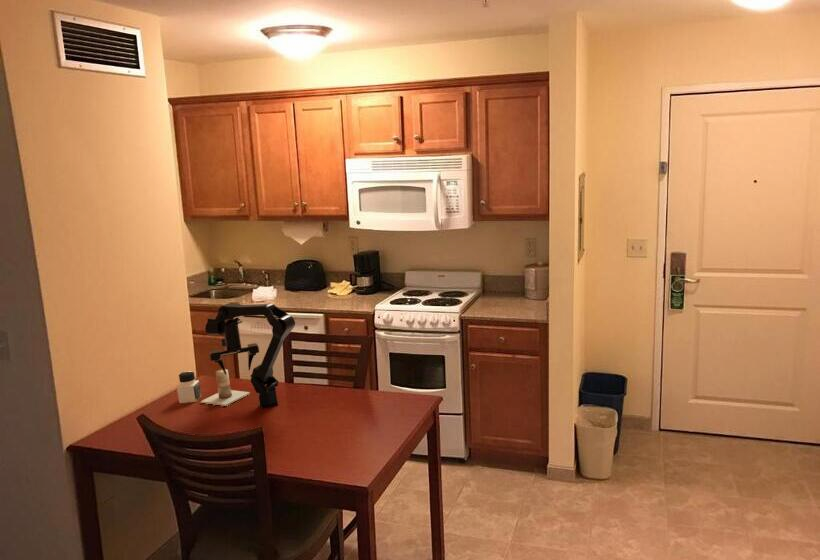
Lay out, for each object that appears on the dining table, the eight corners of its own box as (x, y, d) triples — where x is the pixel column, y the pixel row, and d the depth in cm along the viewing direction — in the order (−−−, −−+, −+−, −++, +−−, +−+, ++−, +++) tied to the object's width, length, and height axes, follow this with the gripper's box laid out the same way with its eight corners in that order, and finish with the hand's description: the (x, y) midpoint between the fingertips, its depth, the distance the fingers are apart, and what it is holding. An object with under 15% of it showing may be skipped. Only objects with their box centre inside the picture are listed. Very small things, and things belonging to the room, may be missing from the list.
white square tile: (250, 394, 278) (249, 392, 278) (226, 406, 266) (225, 404, 266) (225, 391, 285) (225, 389, 284) (201, 403, 273) (200, 401, 273)
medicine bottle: (196, 402, 275) (191, 374, 273) (179, 403, 275) (174, 376, 273) (201, 395, 282) (197, 369, 280) (185, 397, 282) (180, 370, 280)
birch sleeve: (234, 395, 276) (230, 369, 274) (225, 399, 272) (221, 373, 270) (225, 393, 279) (221, 368, 277) (216, 398, 274) (212, 372, 272)
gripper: (254, 326, 274) (259, 362, 276) (207, 334, 268) (212, 371, 271) (256, 332, 263) (261, 370, 266) (207, 340, 258) (213, 379, 261)
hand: (237, 372), depth 266 cm, fingers open, 9 cm apart
